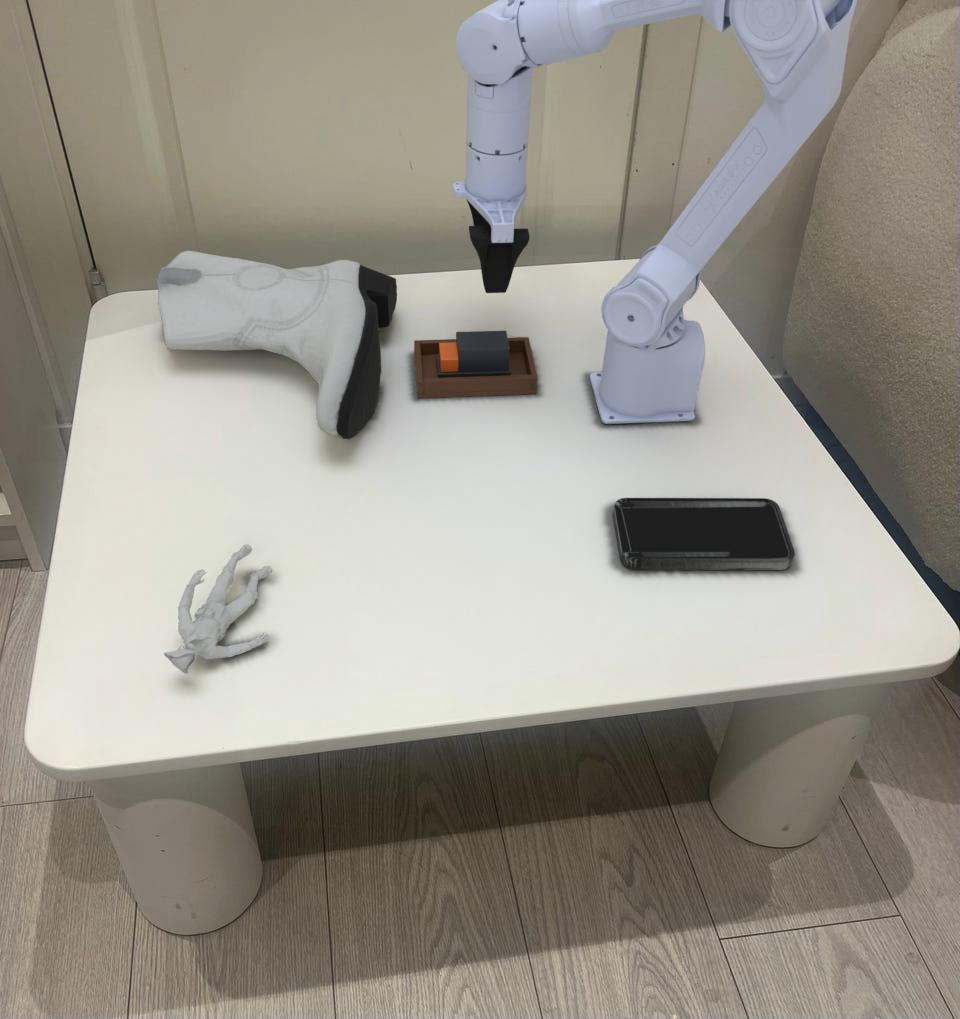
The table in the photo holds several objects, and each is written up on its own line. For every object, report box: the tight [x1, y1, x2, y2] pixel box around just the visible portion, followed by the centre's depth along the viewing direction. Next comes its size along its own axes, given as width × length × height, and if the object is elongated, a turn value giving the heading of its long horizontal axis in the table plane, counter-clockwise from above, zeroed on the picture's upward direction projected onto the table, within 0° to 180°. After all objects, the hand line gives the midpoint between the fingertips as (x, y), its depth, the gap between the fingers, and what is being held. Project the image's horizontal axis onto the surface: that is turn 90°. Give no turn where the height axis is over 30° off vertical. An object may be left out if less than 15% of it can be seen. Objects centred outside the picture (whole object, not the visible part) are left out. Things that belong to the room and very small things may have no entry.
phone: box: [612, 497, 796, 571], centre depth 90 cm, size 8×1×15 cm
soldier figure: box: [163, 543, 273, 675], centre depth 80 cm, size 8×5×12 cm
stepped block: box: [436, 330, 511, 378], centre depth 104 cm, size 8×4×4 cm, turn 95°
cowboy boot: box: [156, 250, 398, 441], centre depth 103 cm, size 10×28×25 cm
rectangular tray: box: [413, 336, 539, 399], centre depth 105 cm, size 12×7×2 cm, turn 95°
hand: (491, 270), depth 103 cm, fingers open, 7 cm apart
